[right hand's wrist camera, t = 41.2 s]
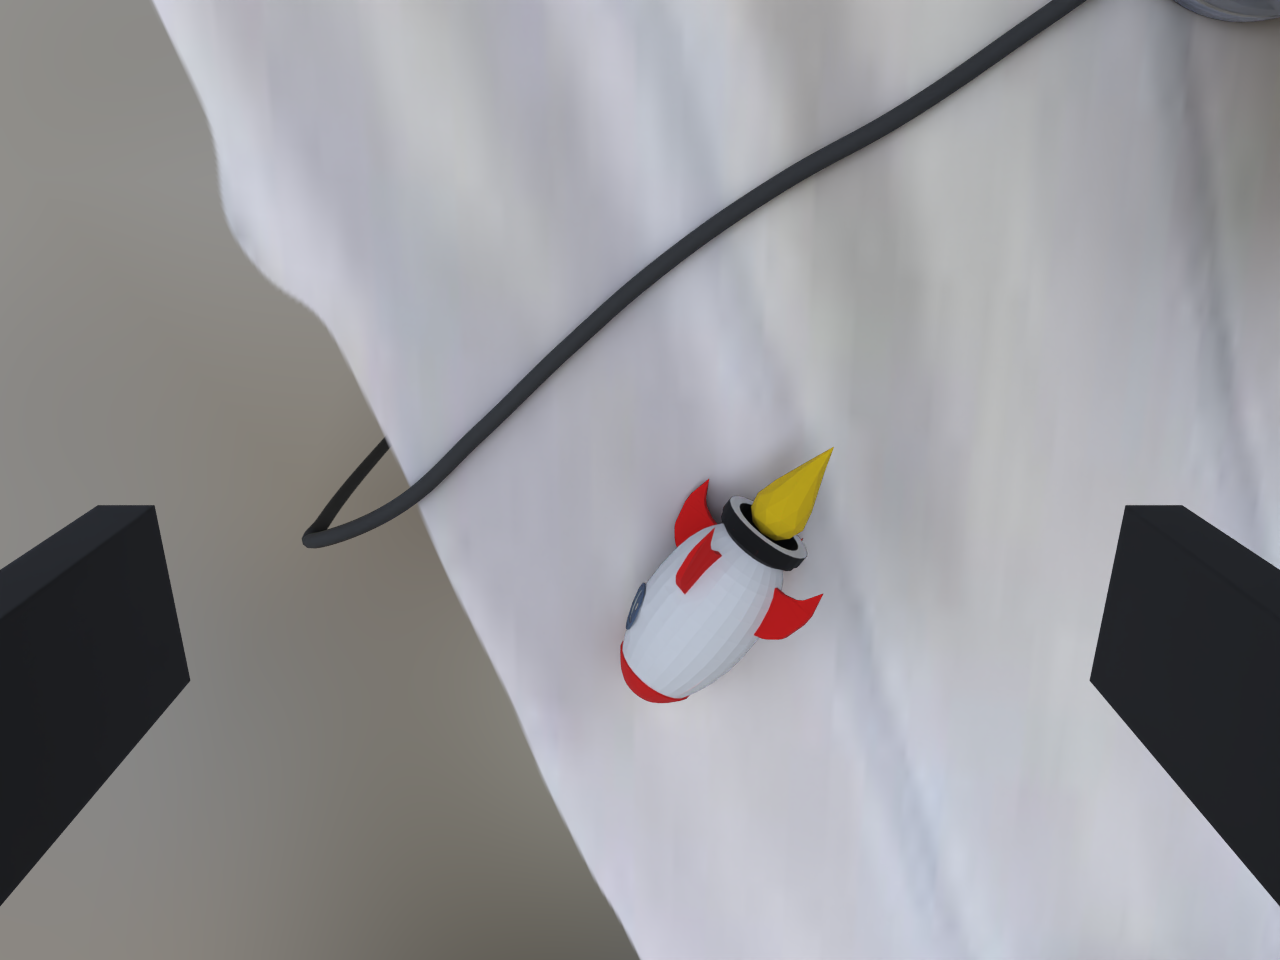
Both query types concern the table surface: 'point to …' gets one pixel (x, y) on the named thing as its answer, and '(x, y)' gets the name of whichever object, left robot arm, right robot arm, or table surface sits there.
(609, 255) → the table surface
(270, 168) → the table surface
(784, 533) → the toy rocket
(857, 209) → the table surface
